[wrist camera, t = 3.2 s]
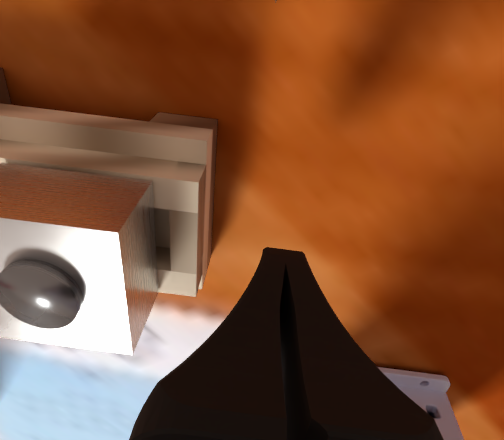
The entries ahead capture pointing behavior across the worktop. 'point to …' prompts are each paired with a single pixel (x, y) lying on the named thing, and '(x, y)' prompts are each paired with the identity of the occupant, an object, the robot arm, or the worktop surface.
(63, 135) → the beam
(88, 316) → the block
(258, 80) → the worktop surface
